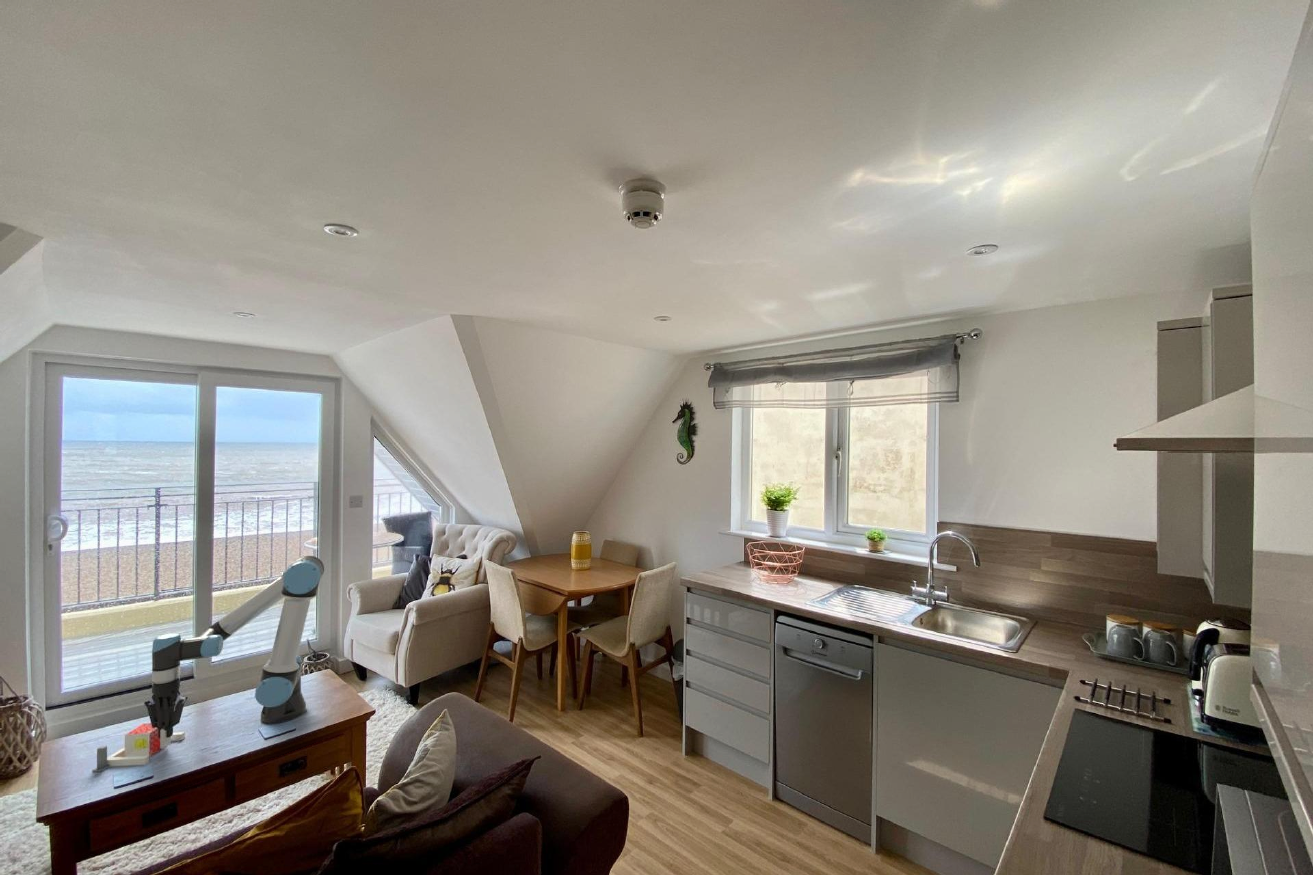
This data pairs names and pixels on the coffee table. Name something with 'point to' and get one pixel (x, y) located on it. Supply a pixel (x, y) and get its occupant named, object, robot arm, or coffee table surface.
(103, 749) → the keeper bracket
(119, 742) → the coffee table surface
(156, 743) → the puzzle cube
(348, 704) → the coffee table surface
